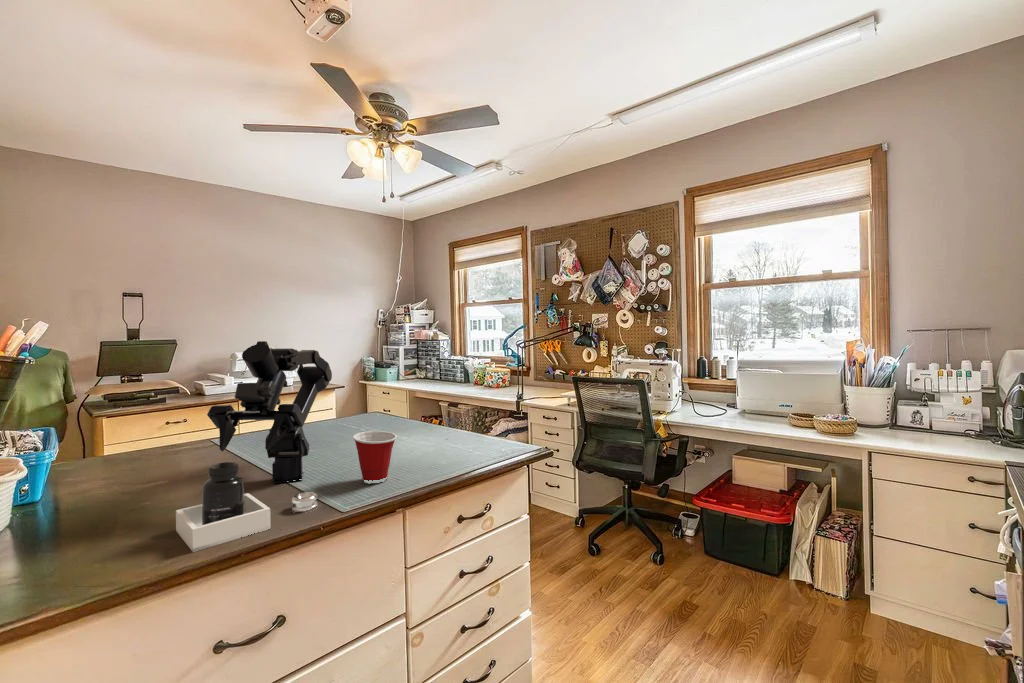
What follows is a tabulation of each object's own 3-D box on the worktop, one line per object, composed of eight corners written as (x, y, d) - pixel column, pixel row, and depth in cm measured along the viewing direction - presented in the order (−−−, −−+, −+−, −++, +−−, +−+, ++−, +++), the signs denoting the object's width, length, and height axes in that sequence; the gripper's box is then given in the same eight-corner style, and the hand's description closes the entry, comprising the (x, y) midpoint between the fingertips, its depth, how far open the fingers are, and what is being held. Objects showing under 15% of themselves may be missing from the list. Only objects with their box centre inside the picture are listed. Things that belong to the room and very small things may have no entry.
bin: (248, 511, 96) (248, 493, 96) (270, 528, 87) (270, 508, 87) (176, 530, 87) (175, 510, 86) (193, 552, 78) (192, 529, 78)
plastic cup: (381, 490, 109) (380, 441, 109) (344, 485, 112) (343, 437, 112) (405, 476, 119) (405, 431, 119) (371, 472, 123) (370, 428, 122)
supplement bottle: (213, 537, 82) (213, 472, 82) (195, 529, 86) (194, 467, 86) (251, 523, 88) (250, 463, 88) (232, 516, 92) (231, 458, 92)
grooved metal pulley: (320, 504, 100) (297, 504, 100) (320, 490, 100) (297, 491, 100) (312, 512, 95) (288, 513, 95) (312, 499, 95) (287, 499, 95)
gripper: (211, 369, 99) (179, 429, 88) (298, 368, 100) (277, 427, 90) (231, 399, 107) (204, 458, 96) (311, 397, 108) (294, 455, 98)
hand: (244, 449), depth 95 cm, fingers open, 9 cm apart
